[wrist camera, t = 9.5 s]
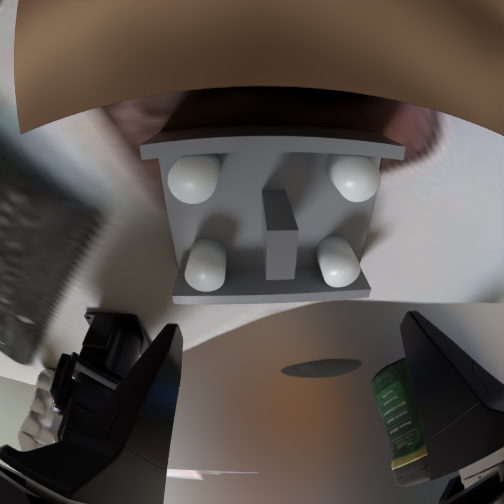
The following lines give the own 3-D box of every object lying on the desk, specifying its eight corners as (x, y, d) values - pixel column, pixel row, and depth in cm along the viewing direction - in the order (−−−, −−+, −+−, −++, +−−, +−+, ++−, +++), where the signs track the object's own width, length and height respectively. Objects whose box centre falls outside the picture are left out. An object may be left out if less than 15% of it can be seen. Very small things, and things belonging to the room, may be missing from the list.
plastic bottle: (51, 378, 36) (24, 465, 20) (37, 359, 33) (4, 455, 16) (78, 388, 37) (54, 481, 21) (65, 370, 33) (35, 474, 17)
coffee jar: (360, 381, 34) (385, 496, 19) (399, 351, 30) (438, 477, 15) (398, 384, 37) (424, 480, 22) (433, 357, 33) (469, 458, 18)
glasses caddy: (352, 264, 22) (378, 319, 17) (183, 268, 22) (167, 328, 17) (375, 131, 16) (427, 158, 10) (161, 131, 15) (122, 157, 10)
